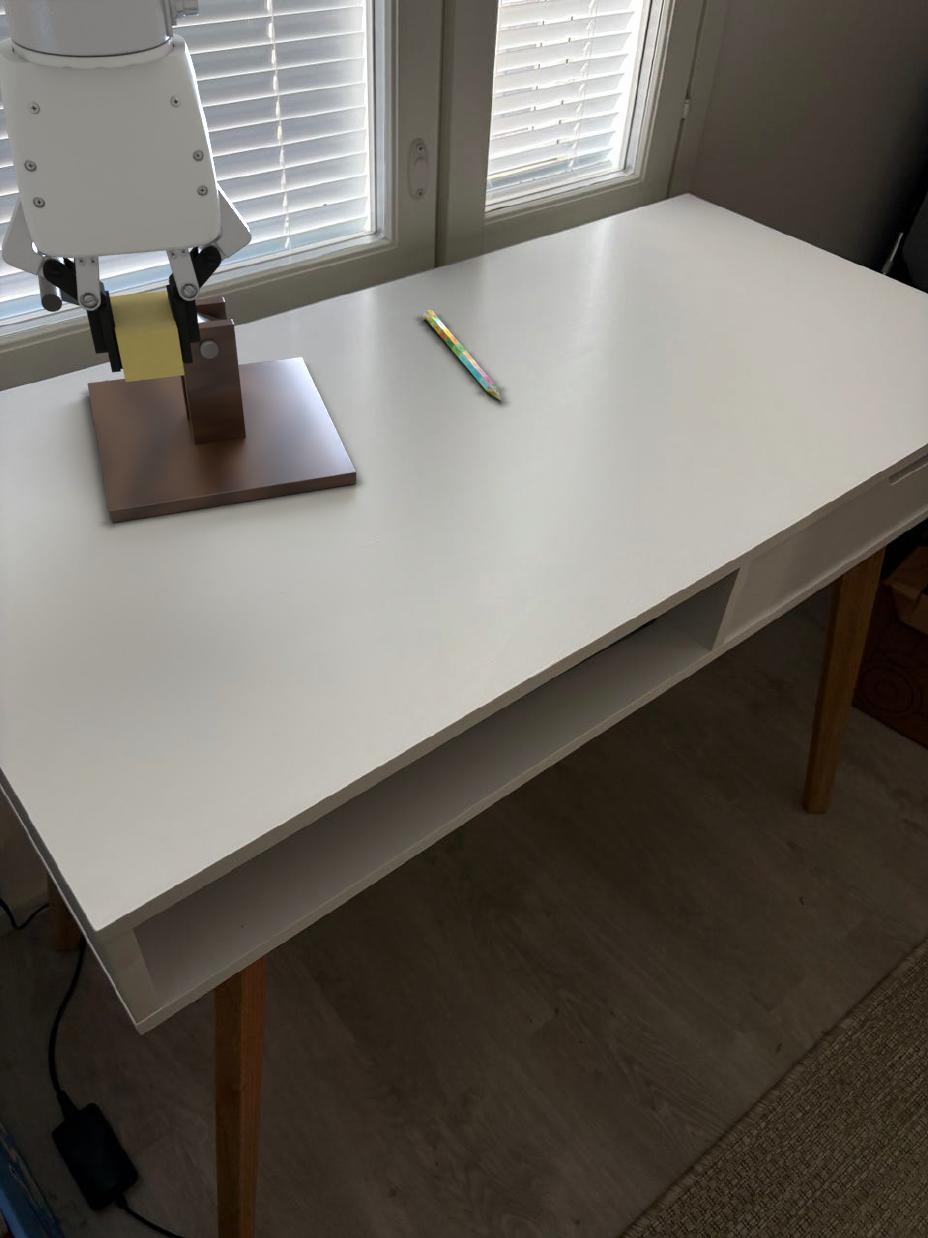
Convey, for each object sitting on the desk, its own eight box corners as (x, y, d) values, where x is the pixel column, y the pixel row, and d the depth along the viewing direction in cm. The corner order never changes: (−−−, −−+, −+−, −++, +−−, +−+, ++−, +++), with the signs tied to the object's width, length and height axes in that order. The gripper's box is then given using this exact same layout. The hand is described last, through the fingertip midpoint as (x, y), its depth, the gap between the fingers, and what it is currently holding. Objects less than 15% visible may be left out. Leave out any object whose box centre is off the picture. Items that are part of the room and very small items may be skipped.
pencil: (506, 403, 97) (433, 318, 108) (507, 393, 96) (434, 308, 108) (494, 406, 96) (422, 320, 108) (495, 395, 96) (422, 310, 107)
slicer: (112, 523, 80) (81, 392, 72) (89, 394, 93) (62, 271, 85) (356, 483, 86) (353, 358, 78) (302, 367, 99) (295, 250, 91)
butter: (184, 375, 60) (177, 328, 58) (125, 382, 59) (116, 335, 57) (173, 335, 64) (166, 290, 61) (118, 341, 63) (108, 295, 61)
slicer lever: (37, 314, 75) (45, 285, 73) (34, 285, 78) (41, 256, 77) (220, 365, 82) (230, 339, 81) (210, 336, 86) (219, 311, 85)
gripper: (246, -9, 54) (273, 314, 66) (-94, -2, 49) (4, 342, 62) (274, 29, 48) (297, 371, 61) (-103, 41, 44) (6, 407, 57)
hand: (149, 354), depth 61 cm, fingers closed on butter, 3 cm apart
